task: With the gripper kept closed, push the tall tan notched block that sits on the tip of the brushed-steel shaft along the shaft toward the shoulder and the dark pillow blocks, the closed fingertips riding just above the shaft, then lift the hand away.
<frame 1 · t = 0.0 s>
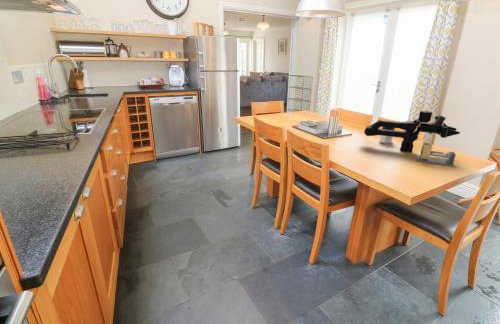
hand: (458, 131, 168), 17 cm above the table, tool horizontal, fingers open, 9 cm apart
jar: (385, 142, 202), on the table
shaft stand: (433, 161, 166), on the table
tan notched block: (425, 150, 166), point 6 cm above the table, slide at 0.0 cm
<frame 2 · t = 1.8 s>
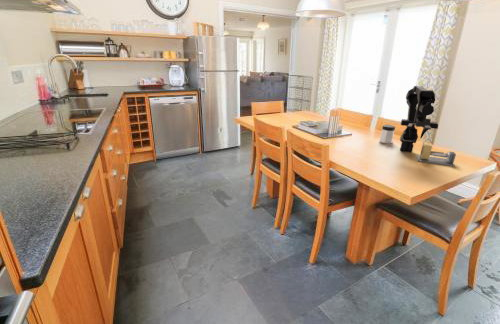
hand: (415, 137, 166), 13 cm above the table, tool pointing down, fingers open, 5 cm apart
nothing on the table moved.
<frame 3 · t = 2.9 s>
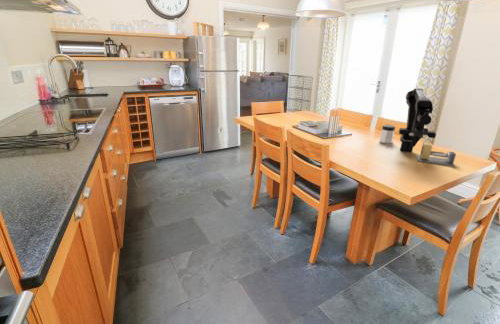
hand: (413, 146, 168), 8 cm above the table, tool pointing down, fingers closed
nothing on the table moved.
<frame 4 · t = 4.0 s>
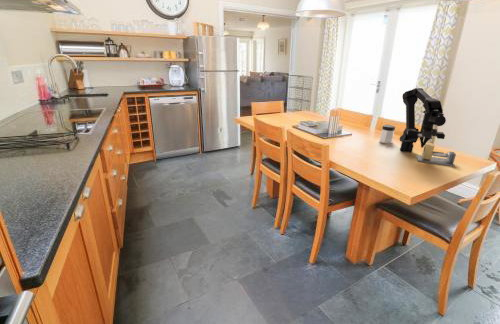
hand: (421, 147, 166), 8 cm above the table, tool pointing down, fingers closed
tan notched block: (427, 151, 165), point 6 cm above the table, slide at 1.1 cm, touching gripper
everything else where it was.
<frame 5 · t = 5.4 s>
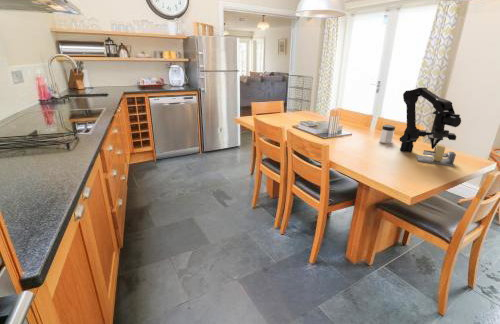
hand: (432, 148, 164), 8 cm above the table, tool pointing down, fingers closed
tan notched block: (438, 152, 163), point 6 cm above the table, slide at 6.5 cm, touching gripper
everything else where it was.
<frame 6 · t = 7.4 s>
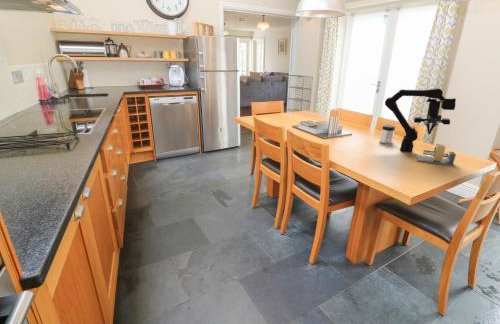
hand: (429, 134, 174), 13 cm above the table, tool pointing down, fingers closed
tan notched block: (438, 152, 163), point 6 cm above the table, slide at 6.5 cm
everything else where it was.
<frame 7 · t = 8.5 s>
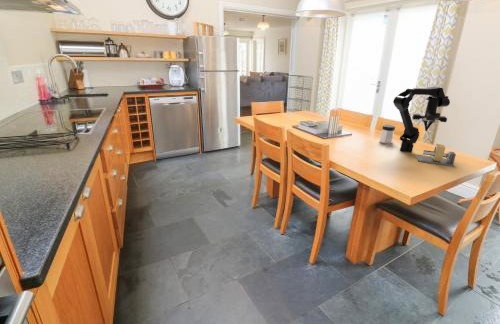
hand: (425, 130, 182), 13 cm above the table, tool pointing down, fingers closed
nothing on the table moved.
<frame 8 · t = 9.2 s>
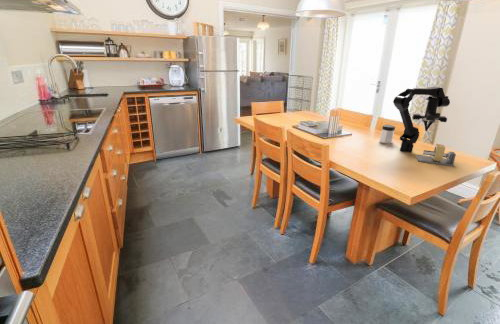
hand: (425, 130, 182), 13 cm above the table, tool pointing down, fingers closed
nothing on the table moved.
at the end: tan notched block slide at 6.5 cm; tan notched block touching nothing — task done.
